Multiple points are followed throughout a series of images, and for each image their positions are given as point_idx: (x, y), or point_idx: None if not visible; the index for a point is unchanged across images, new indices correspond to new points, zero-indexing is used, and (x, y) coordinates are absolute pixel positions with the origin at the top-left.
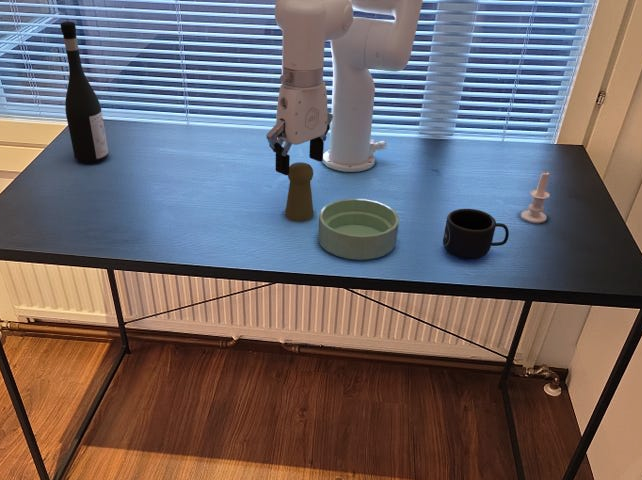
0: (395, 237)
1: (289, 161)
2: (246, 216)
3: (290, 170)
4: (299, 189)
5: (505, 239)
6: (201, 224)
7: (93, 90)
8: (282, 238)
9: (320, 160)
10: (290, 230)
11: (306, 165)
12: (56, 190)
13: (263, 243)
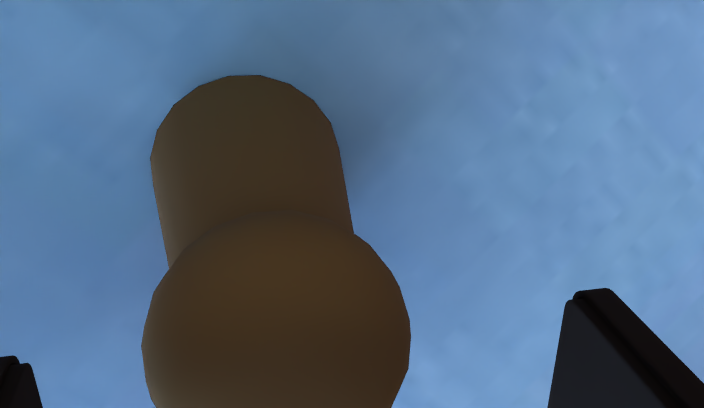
0: None
1: (656, 390)
2: (471, 322)
3: (400, 386)
4: (336, 215)
5: None
6: None
7: None
8: (533, 16)
9: (15, 366)
10: (429, 57)
11: (243, 363)
12: None
13: (639, 49)
